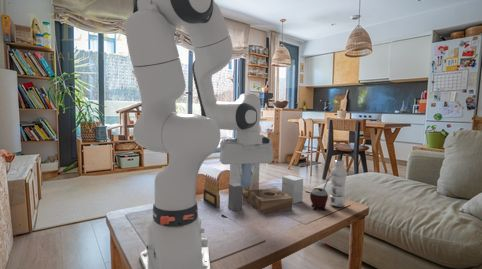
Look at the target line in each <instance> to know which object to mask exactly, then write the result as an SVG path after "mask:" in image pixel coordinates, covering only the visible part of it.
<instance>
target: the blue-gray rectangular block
mask: <svg viewBox="0 0 482 269" xmlns="http://www.w3.org/2000/svg"><path fill="white" fill-rule="evenodd" d="M241 171H243V173H242V174H243V175H242V176H241V187H243V188H249V187H250V181H251V164H250V163H247V164H242V166H241Z"/></svg>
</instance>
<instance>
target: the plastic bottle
mask: <svg viewBox="0 0 482 269" xmlns="http://www.w3.org/2000/svg"><path fill="white" fill-rule="evenodd" d="M333 165H334V166H332V168H331V169H330V171H329V172H330V176H331V175H333V174H334V175H333V176H332V177H330V184H331V185H330V192H329V195H328V203H329V204H330V205H331V206H333V207H337V208H340V207H341V208H343V207H344V206H345V204H346V197H345V196H346V195H345V187H346V186H345V185H346V179H347V175H348V172H347V169H346V168H345V167H344V166H345V160H344V159H335V160H334V164H333Z"/></svg>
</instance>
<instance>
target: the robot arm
mask: <svg viewBox="0 0 482 269" xmlns="http://www.w3.org/2000/svg"><path fill="white" fill-rule="evenodd" d="M132 4H133V5H132V7H133V9H132V13H131V14H130V15H129V16H128V17H127V18H126V20H125V25H124V29H125V30H124V31H125V37H126V38H125V39H126V43H127V44H126V45H127V49H128V54H129V58H130V63H131V65H132V68H133V71H134V75H135V78H136V82H137V87H138V90H139V93H140V100H141V108H140V110H141V111H140V114H139V117H138V118H137V120H136V121H135V123H134V125H133V130H132V134H133V139H134V141H135V143H136V144H137V145H138V146H140V147H141V148H143V149H146V150H148V151H151V152H155V153H162V154H169V161H168V163H167V164H168V165H167V166H166V167H165V168H163V169H161V170H160V171H159V172H158V173H157V174H156V176H155V177H154V202H153V205H152V218H153V219H152V221H151V222H150V223H149V224H148V225H147V227H146V228H147V233H146V236H147V237H146V249H144V250H142V251H141V252H140V253H139V259H140V262H141V265H142V268H143V269H211V261H210V251H209V250H210V249H209V240H208V237H202V234H203V233H205V227H202V219H201V218H200V217H199V215H198V214H199V207H198V202H197V181H198V174H199V171H200V170H201V169H200V168H201V167H202V165H203V163H204V162H205V160H206V159H207V158H208V157H209V156H211V155H212V154H213V153H215V151H216V150H217V149H218V147H219V148H220V152H219V162H220V163H221V164H222V165H230V164H235V168H236V170H237V175H238V176H242V175H243V174H242V173H243V171H241V170H240V169H239V167H240V164H247V163H250V164H253V168H252V170H251V175H255V171H256V169H257V167H258V163H260V164H272V162H273V160H274V147H273V146H272V145H271V144H272V143H273V140H272V138H271V137H269V136H268V137H267V136H266V135H263V134H261V128H260V122H261V116H262V115H261V112H262V111H261V110H262V109H261V108H262V106H261V98H260V96H258V95H256V94H254V93H248V92H245V93H243V92H242V93H241V94H239V96H238V99H236V100H234V101H220V100H218V99H217V98H216V95H215V90H214V85H213V80H212V79H213V75H215V74H217V73H218V72H220V71H221V70H223V69H224V68H225V67H226V66H227V65H228V64H229V63H230V62H231V61H232V57H233V54H234V47H233V41H232V38H231V35H230V32H229V29H228V28H229V27H228V26H227V23H226V20H225V17H224V15H223V14H222V11H221V9H220V6H219V5H218V3H217V2H216V0H132ZM182 26H183V27H184V29H185V30H186V31H187V35H188V37H189V40H190V43H191V47H192V49H193V53H194V61H193V62H192V67H191V70H192V77H193V81H194V85H195V90H196V93H197V97H198V101H199V105H200V106H199V107H200V114H193V113H191V114H190V113H178V112H177V108H176V104H177V102H176V101H177V100H179V99H180V98H181V97H182V96H183V94H184V93H185V91H186V89H187V88H186V87H187V86H186V80H185V75H184V70H183V66H182V63H181V59H180V54H179V53H180V52H179V51H178V47H177V43H176V40H175V39H176V38H175V32H176V27H182ZM221 130H225V131H227V130H229V131H235V138H233V137H231V138H223V139H222V140H221ZM219 145H220V146H219Z"/></svg>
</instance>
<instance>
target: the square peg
mask: <svg viewBox="0 0 482 269" xmlns="http://www.w3.org/2000/svg"><path fill="white" fill-rule="evenodd" d="M243 197H244V196H243V187H241V184H239V183H231V184H230V183H228V199H227V200H228V207H227V208H228V209H230V210H231V211H232V212H235V211H239V210H240V211H241V210H243Z"/></svg>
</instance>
